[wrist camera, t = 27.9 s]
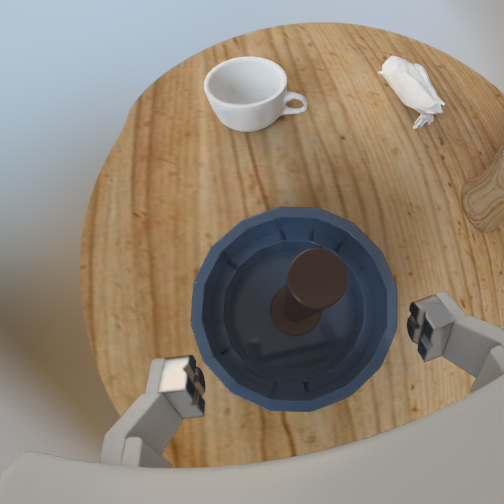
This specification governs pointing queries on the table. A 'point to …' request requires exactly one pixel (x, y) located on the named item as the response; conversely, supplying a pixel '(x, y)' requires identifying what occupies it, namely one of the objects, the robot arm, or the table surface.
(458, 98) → the table surface
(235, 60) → the teacup
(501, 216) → the silver metal tumbler
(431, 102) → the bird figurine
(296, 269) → the stick
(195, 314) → the bowl
